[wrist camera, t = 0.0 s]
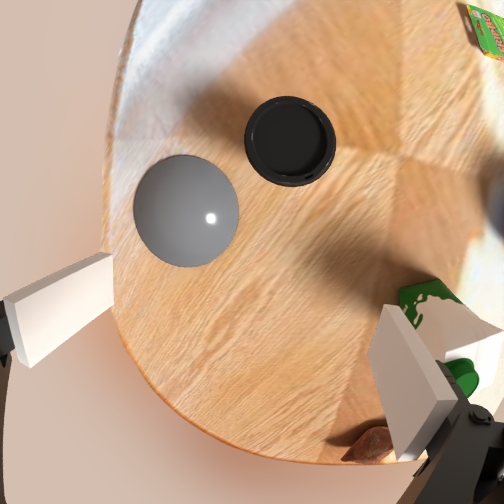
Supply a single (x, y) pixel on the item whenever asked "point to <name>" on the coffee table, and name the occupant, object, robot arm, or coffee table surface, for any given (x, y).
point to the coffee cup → (290, 141)
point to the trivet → (186, 211)
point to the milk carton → (453, 334)
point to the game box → (488, 32)
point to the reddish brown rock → (370, 446)
